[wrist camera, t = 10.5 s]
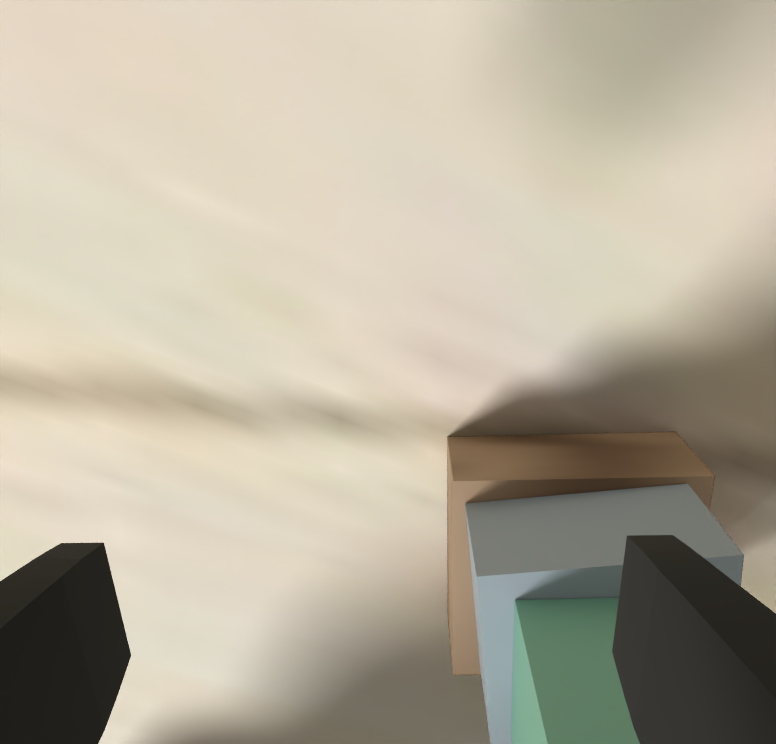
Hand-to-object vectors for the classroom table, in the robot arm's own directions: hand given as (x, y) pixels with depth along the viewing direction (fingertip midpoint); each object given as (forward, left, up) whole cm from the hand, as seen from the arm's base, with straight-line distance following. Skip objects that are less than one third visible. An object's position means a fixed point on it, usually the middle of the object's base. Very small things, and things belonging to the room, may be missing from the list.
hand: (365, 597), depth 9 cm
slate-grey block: (+5, -6, -8) cm, 11 cm away
